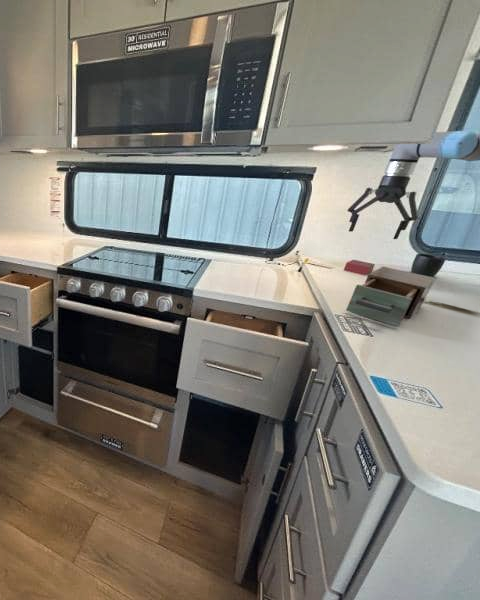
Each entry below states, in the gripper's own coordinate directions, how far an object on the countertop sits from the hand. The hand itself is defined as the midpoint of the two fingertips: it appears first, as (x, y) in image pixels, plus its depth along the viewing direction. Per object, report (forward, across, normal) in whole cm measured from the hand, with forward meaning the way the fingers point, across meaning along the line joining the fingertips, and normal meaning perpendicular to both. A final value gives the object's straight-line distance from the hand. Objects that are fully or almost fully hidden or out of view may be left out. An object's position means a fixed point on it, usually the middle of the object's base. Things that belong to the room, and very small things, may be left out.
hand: (372, 235), depth 125 cm
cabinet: (+16, +16, -30) cm, 38 cm away
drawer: (+15, +16, -47) cm, 52 cm away
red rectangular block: (+16, 0, 0) cm, 16 cm away
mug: (+16, +16, +22) cm, 32 cm away
